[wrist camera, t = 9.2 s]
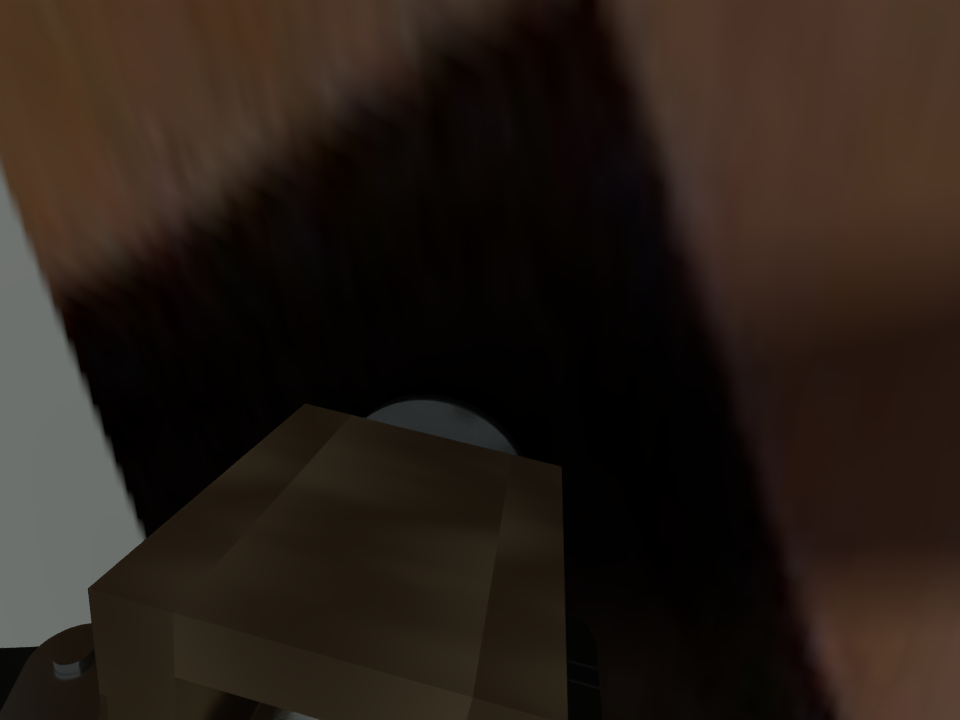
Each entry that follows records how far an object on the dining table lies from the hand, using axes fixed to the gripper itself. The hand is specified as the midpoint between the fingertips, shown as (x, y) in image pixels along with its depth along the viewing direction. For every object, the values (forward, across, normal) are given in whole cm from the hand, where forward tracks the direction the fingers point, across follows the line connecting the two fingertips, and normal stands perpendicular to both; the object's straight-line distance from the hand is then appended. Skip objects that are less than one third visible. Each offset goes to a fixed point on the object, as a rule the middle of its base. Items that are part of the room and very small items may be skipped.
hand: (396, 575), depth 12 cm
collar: (+1, 0, 0) cm, 1 cm away
